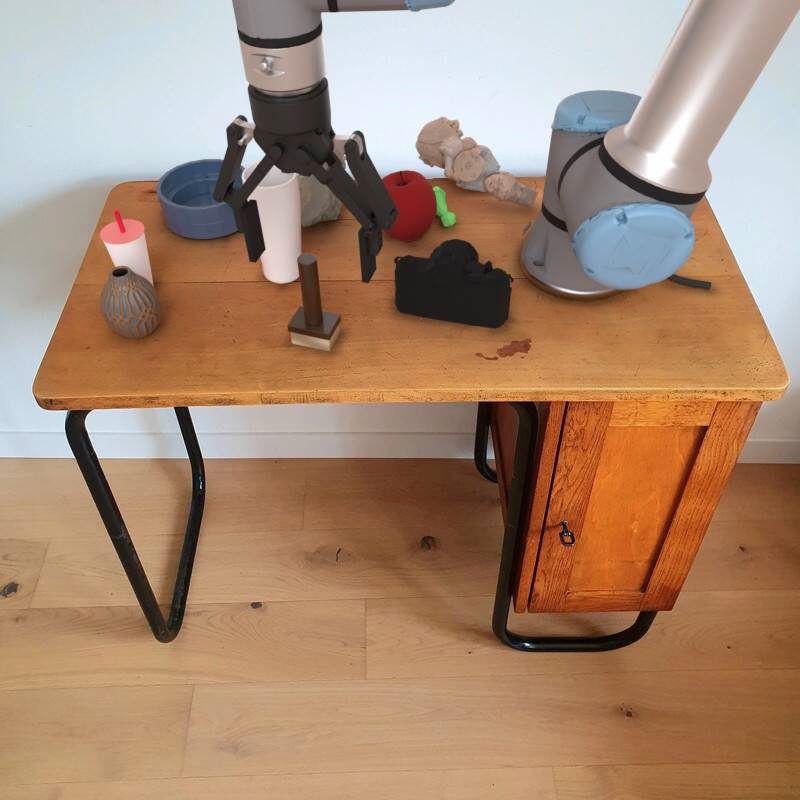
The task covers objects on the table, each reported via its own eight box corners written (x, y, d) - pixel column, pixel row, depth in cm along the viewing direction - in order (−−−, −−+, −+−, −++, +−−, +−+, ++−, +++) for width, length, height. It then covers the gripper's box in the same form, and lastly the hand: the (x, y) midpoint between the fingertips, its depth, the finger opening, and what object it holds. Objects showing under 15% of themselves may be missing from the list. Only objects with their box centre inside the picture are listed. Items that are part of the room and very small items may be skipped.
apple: (447, 241, 108) (450, 177, 101) (388, 257, 106) (386, 192, 99) (421, 207, 114) (422, 145, 107) (364, 221, 112) (361, 158, 105)
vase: (99, 329, 97) (77, 273, 90) (145, 302, 100) (127, 246, 94) (132, 354, 93) (111, 298, 87) (178, 326, 97) (162, 269, 90)
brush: (342, 333, 96) (335, 253, 87) (331, 353, 93) (323, 273, 85) (301, 324, 97) (291, 244, 88) (289, 344, 94) (277, 264, 86)
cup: (152, 303, 100) (127, 224, 91) (113, 299, 101) (84, 220, 92) (167, 277, 104) (144, 199, 95) (129, 274, 104) (103, 196, 95)
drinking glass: (300, 292, 101) (287, 191, 90) (251, 285, 102) (232, 185, 91) (314, 261, 106) (304, 161, 95) (267, 255, 107) (251, 156, 96)
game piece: (413, 209, 112) (435, 236, 110) (426, 185, 110) (449, 211, 107) (435, 211, 115) (456, 237, 112) (448, 187, 113) (470, 213, 110)
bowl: (271, 199, 116) (266, 166, 112) (231, 249, 108) (224, 215, 104) (192, 185, 119) (185, 153, 115) (148, 233, 111) (138, 199, 107)
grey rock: (350, 216, 119) (295, 181, 119) (377, 160, 113) (318, 123, 112) (310, 255, 109) (250, 217, 109) (338, 196, 102) (273, 154, 102)
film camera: (517, 287, 102) (525, 229, 95) (504, 334, 95) (511, 276, 89) (406, 268, 105) (406, 211, 98) (386, 313, 98) (384, 255, 92)
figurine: (464, 118, 122) (550, 196, 114) (434, 164, 125) (514, 241, 118) (433, 105, 114) (522, 186, 107) (402, 153, 118) (486, 235, 111)
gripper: (148, 82, 72) (198, 266, 88) (402, 114, 66) (407, 305, 82) (187, 49, 77) (228, 229, 92) (427, 76, 71) (428, 264, 87)
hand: (312, 265), depth 87 cm, fingers open, 13 cm apart
